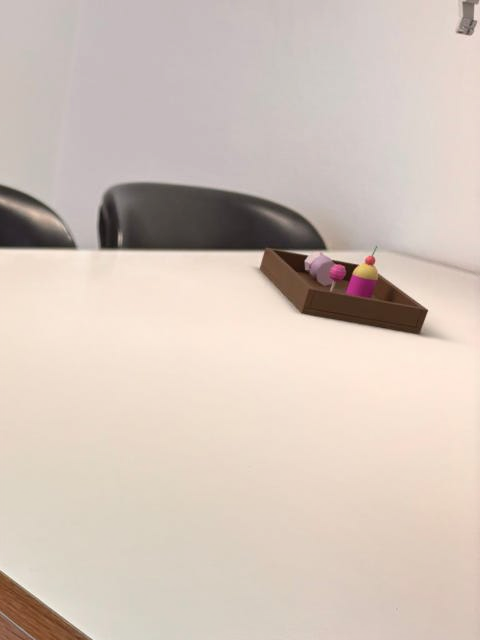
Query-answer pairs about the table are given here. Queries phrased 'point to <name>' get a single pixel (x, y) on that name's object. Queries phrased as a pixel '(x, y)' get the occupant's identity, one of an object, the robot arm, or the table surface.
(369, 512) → the table surface
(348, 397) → the table surface
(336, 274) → the candy
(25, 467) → the table surface
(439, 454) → the table surface
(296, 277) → the tray
